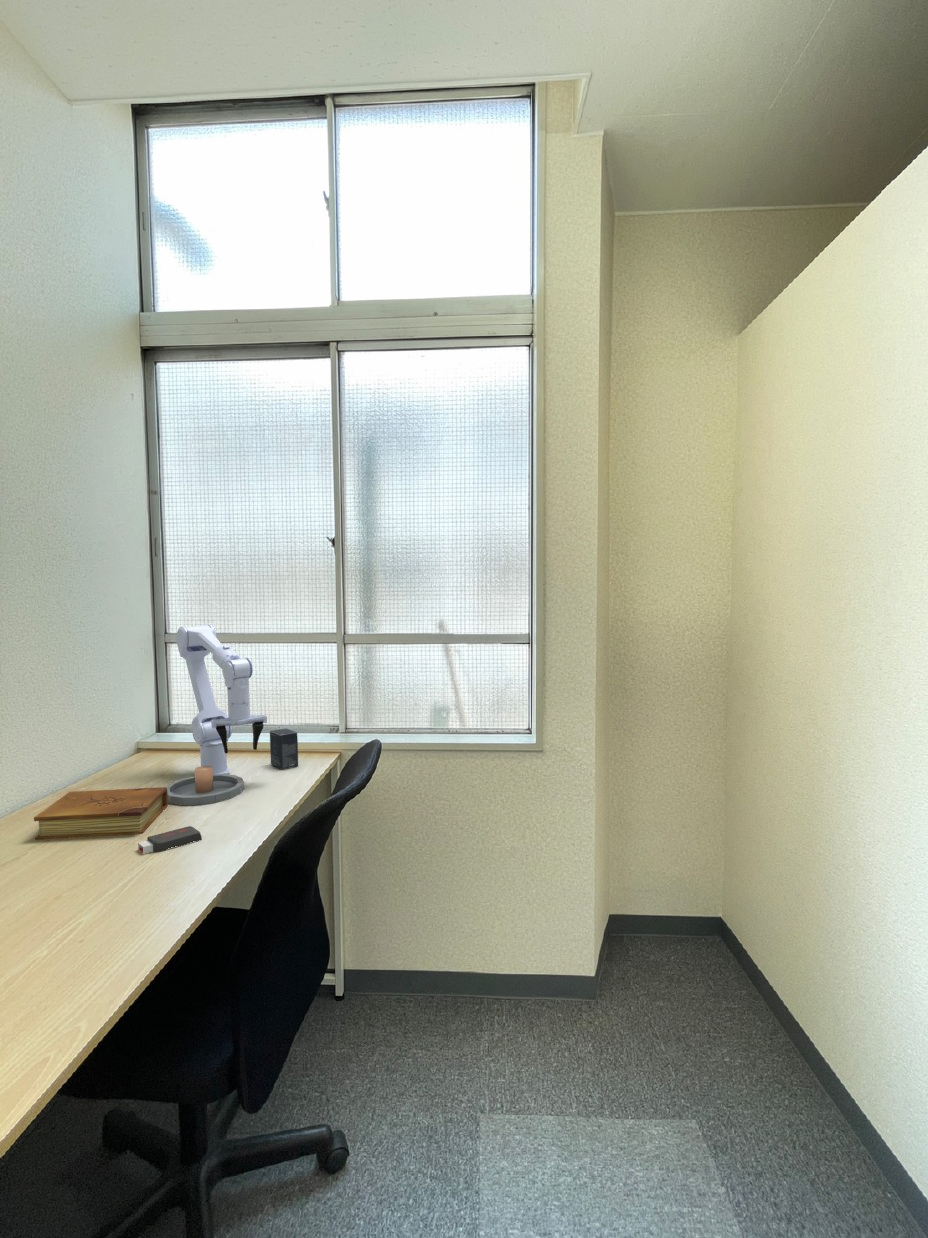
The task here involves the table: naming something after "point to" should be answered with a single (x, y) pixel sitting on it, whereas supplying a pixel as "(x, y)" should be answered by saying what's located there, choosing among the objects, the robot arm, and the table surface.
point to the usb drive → (169, 840)
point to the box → (284, 748)
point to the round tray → (187, 795)
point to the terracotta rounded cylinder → (204, 779)
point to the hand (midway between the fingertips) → (240, 750)
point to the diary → (102, 813)
